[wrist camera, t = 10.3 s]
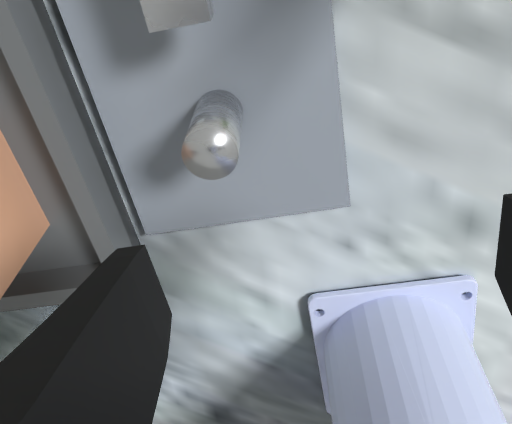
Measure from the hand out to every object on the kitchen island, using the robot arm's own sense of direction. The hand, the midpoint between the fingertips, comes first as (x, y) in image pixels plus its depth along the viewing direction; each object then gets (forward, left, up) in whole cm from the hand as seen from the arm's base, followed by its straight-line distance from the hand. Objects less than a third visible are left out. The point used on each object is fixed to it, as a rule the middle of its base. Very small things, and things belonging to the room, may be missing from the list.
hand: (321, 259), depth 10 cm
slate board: (+2, +3, -10) cm, 11 cm away
